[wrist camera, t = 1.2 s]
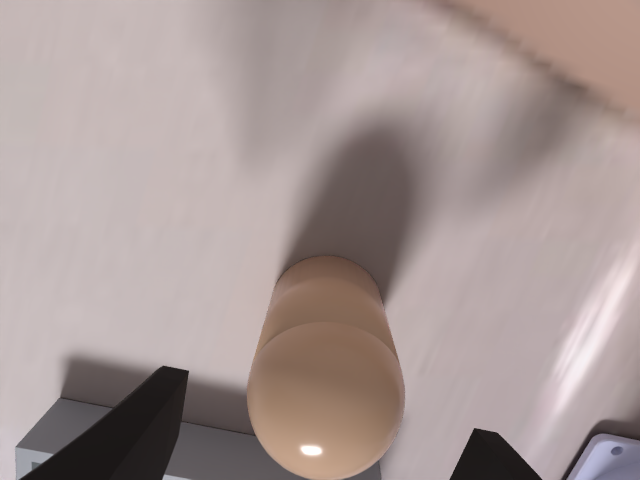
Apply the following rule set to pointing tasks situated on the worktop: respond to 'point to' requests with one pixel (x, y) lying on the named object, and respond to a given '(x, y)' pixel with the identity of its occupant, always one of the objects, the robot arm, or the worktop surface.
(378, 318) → the tan capsule
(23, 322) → the worktop surface
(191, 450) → the divided tray
